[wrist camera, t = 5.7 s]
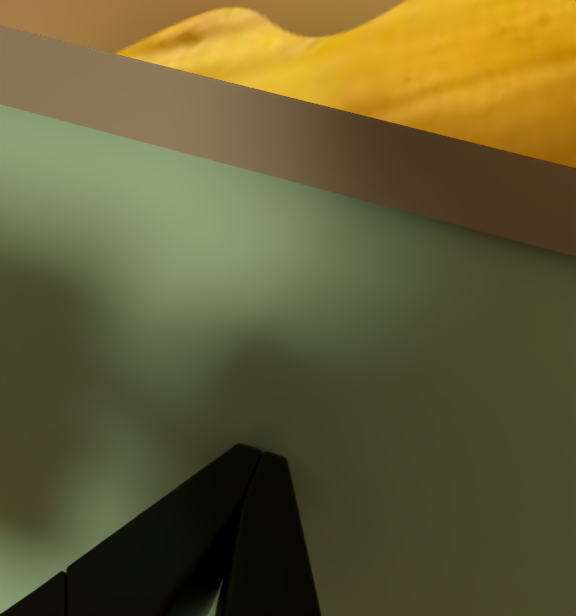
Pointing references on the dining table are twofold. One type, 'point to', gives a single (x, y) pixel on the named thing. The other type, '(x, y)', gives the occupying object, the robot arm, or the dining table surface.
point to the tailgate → (283, 331)
